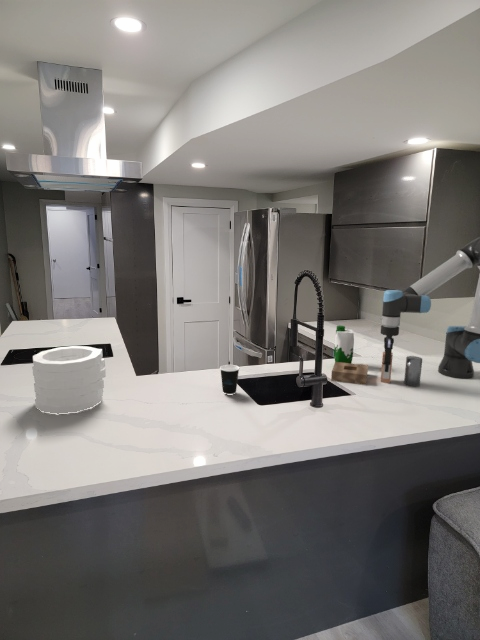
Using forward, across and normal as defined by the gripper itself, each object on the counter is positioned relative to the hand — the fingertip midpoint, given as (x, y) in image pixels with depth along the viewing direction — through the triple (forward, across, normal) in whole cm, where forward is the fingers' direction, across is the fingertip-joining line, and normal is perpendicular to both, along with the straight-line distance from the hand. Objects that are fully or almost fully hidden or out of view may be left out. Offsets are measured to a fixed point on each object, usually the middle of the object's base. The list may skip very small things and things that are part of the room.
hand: (385, 376), depth 184 cm
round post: (+2, 0, +11) cm, 11 cm away
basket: (+2, +68, -113) cm, 132 cm away
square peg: (+2, 0, 0) cm, 2 cm away
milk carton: (+2, -17, -20) cm, 26 cm away
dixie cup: (+2, +39, -60) cm, 72 cm away
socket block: (+2, 0, -16) cm, 16 cm away
